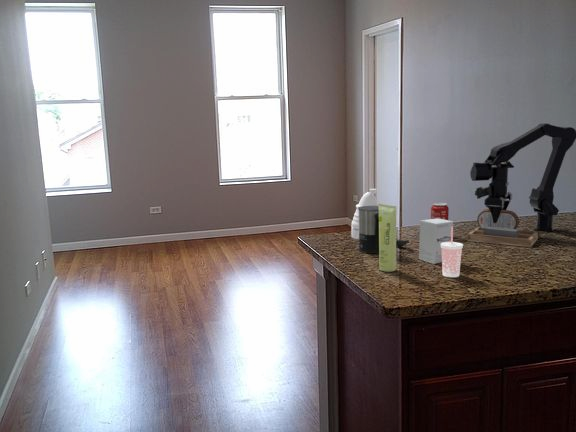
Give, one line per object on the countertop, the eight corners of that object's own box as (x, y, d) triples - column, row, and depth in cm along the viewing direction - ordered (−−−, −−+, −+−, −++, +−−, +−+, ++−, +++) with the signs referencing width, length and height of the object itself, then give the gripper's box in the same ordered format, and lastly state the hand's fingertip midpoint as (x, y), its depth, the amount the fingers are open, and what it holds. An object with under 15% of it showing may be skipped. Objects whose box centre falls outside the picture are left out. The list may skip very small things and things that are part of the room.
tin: (518, 232, 219) (520, 210, 218) (517, 234, 217) (518, 211, 215) (478, 229, 227) (478, 207, 226) (475, 230, 225) (476, 209, 223)
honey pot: (392, 235, 219) (393, 188, 216) (372, 241, 210) (373, 192, 207) (364, 231, 228) (364, 185, 225) (344, 237, 219) (344, 189, 215)
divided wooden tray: (477, 233, 219) (477, 226, 219) (537, 238, 208) (538, 231, 208) (467, 240, 207) (467, 234, 207) (530, 247, 196) (530, 239, 196)
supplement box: (434, 264, 177) (435, 223, 175) (418, 259, 184) (419, 219, 182) (452, 261, 181) (454, 221, 179) (436, 256, 187) (437, 217, 185)
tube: (376, 271, 171) (376, 205, 168) (378, 267, 176) (378, 203, 172) (395, 272, 170) (396, 206, 166) (397, 268, 174) (398, 203, 171)
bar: (518, 240, 203) (519, 229, 202) (515, 242, 200) (515, 231, 199) (486, 237, 210) (487, 226, 209) (483, 239, 207) (483, 228, 206)
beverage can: (446, 234, 219) (447, 202, 217) (449, 237, 213) (450, 205, 211) (429, 234, 220) (429, 202, 218) (431, 237, 214) (432, 205, 212)
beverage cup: (449, 279, 162) (450, 229, 160) (435, 273, 168) (436, 225, 165) (466, 276, 164) (468, 227, 162) (452, 271, 170) (453, 223, 167)
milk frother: (352, 251, 197) (352, 207, 194) (379, 242, 208) (379, 201, 205) (387, 257, 187) (387, 212, 184) (414, 248, 198) (414, 205, 196)
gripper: (483, 176, 231) (482, 215, 233) (470, 182, 215) (469, 223, 218) (513, 177, 225) (511, 217, 227) (502, 183, 209) (500, 226, 212)
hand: (497, 221), depth 221 cm, fingers open, 9 cm apart
